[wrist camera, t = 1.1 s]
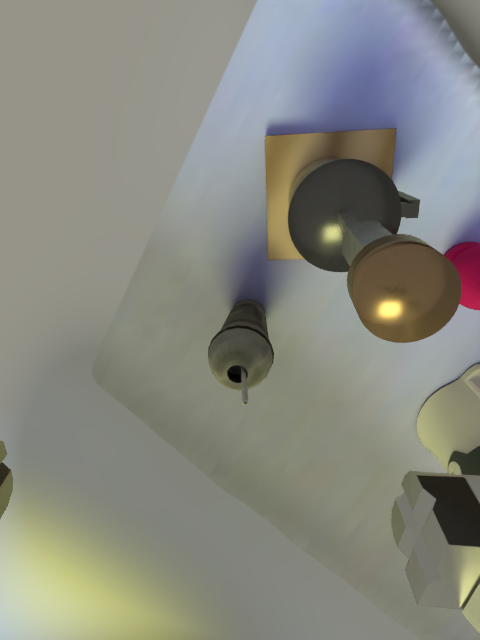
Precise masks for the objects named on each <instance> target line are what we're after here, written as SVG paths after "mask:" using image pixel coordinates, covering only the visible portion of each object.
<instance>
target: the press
mask: <svg viewBox="0 0 480 640" xmlns="http://www.w3.org/2000/svg"><path fill="white" fill-rule="evenodd" d="M288 202H289V209H288V228H289V233H290V237H291V240H292V242H293V244H294V246H295V248H296V249H297V251H298V252H299V253H300V255H301V256H302V257H303V258H304V259H306V260H307V261H308V262H309V263H311V264H312V265H314V266H316V267H318V268H320V269H324V270H327V271H333V272H348V271H349V268H350V266H349V264H348V263H347V261H346V259H345V257H344V255H343V254H342V244H343V222H351V221H377V222H378V223H380V224H381V225H382V226H383V227H384V228H386V229H387V230H388V231H389V232H390V233H392V234H397V232H398V229H399V225H400V221H401V217H406V218H418V213H419V204H420V200H419V199H417V198H414V197H412V196H410V195H407V194H405V193H403V192H400V191H397V188H396V186H395V185H394V183H393V181H392V180H391V179H390V177H389V176H388V175H387V174H386V173H385V172H384V171H383V170H381V169H380V168H378V167H377V166H375V165H373V164H371V163H369V162H365V161H362V160H357V159H342V158H337V157H325V158H320V159H317V160H315V161H312V162H311V163H309V164H307V165H306V166H305V167H304V168H303V169H301V170H300V172H299V173H298V174H297V175H296V177H295V178H294V180H293V182H292V184H291V187H290V191H289V198H288Z"/></svg>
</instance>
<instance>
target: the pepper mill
mask: <svg viewBox="0 0 480 640" xmlns="http://www.w3.org/2000/svg"><path fill="white" fill-rule="evenodd" d="M444 256H445V257H447V258H448V259H449V260H450V261H451V262H452V263H453V265H454V266H455V267H456V269H457V271H458V273H459V276H460V279H461V285H462V293H461V299H460V303H459V304H461V305H463V306H465V307H467V308H470V309H474V310H480V244H479V243H476V242H465V243H461V244H458V245H456V246H454V247H452V248H451V249H450V250H448V252H447V253H446V254H445V255H444Z"/></svg>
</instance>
